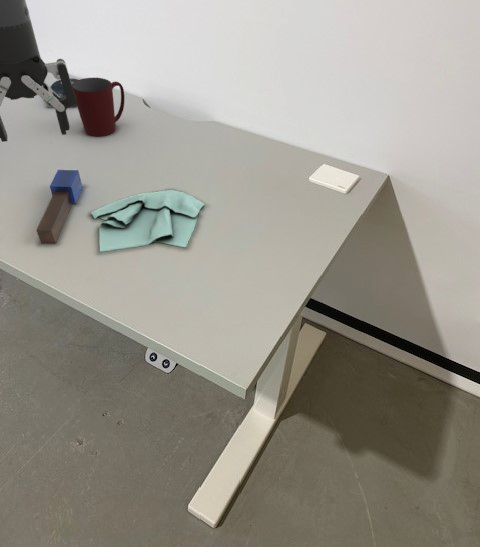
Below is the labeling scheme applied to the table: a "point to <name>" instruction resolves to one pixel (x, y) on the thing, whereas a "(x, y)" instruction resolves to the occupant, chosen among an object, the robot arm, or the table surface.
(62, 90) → the electronic device
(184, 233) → the cloth
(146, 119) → the table surface
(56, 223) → the brush
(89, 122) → the mug
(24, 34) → the robot arm
